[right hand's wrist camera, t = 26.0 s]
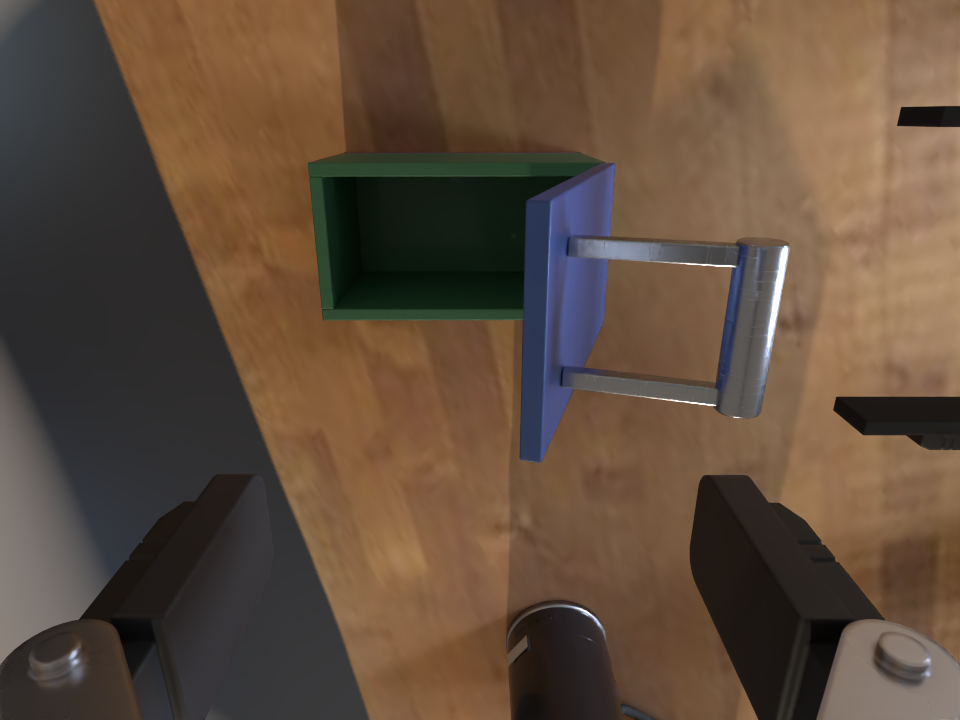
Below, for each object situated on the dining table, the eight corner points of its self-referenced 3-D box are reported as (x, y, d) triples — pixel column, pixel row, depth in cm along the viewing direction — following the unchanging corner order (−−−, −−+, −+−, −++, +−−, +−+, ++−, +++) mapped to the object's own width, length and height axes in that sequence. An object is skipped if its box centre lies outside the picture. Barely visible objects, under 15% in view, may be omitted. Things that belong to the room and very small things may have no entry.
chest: (355, 278, 48) (322, 320, 38) (345, 152, 44) (307, 162, 34) (572, 278, 48) (595, 320, 38) (578, 151, 44) (606, 162, 34)
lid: (519, 460, 22) (763, 499, 20) (525, 199, 19) (817, 210, 17) (590, 322, 37) (734, 335, 35) (600, 162, 34) (759, 165, 32)
